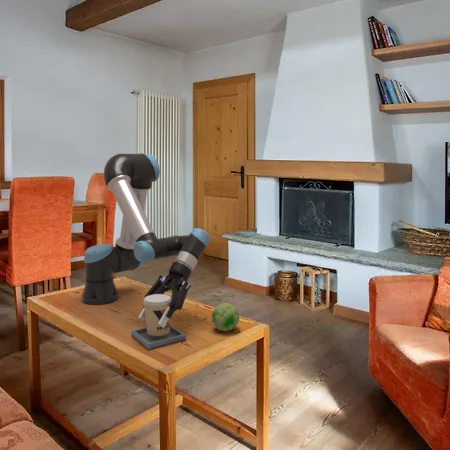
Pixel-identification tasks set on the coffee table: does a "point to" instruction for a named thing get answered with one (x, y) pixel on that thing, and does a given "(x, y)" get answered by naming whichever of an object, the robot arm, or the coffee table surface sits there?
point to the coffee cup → (156, 313)
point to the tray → (158, 338)
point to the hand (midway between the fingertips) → (151, 322)
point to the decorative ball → (225, 317)
